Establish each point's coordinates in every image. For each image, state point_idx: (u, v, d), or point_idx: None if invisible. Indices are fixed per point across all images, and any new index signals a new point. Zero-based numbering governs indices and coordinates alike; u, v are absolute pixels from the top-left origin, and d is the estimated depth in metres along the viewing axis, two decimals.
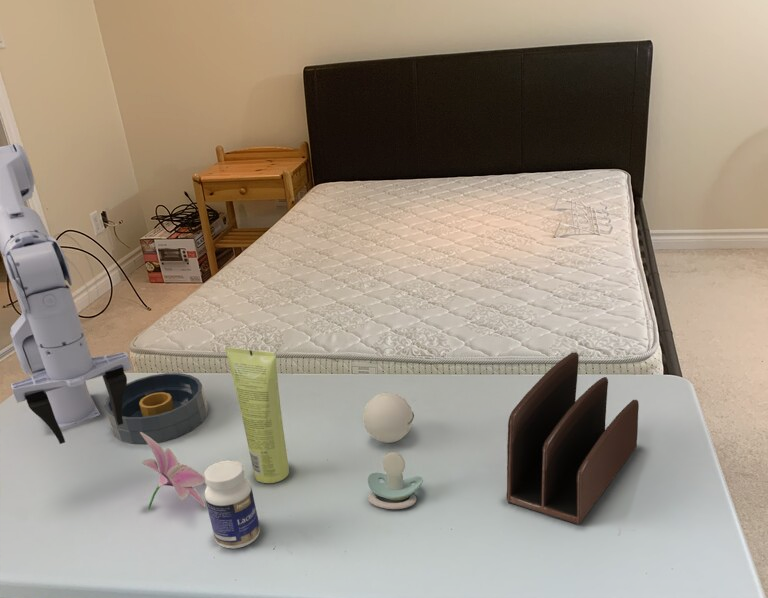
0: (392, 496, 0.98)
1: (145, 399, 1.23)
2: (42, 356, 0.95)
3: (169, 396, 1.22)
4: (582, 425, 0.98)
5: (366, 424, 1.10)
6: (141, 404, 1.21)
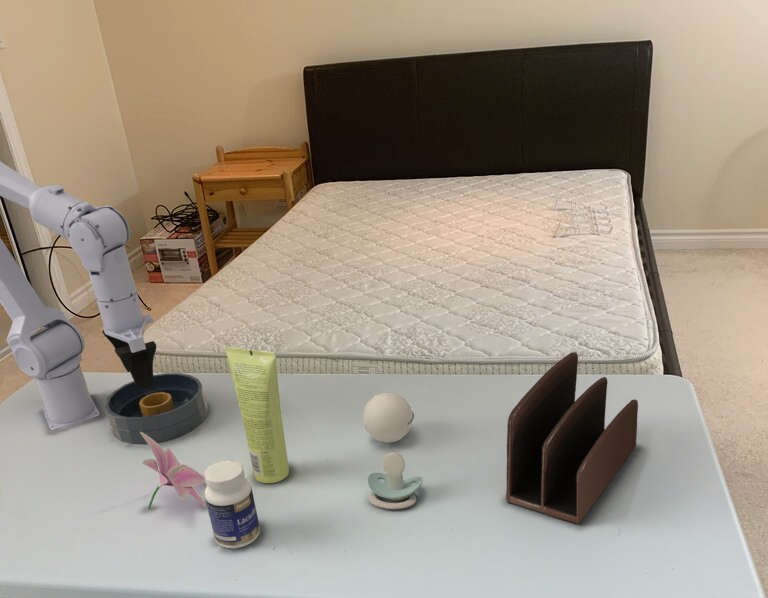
0: (392, 496, 0.98)
1: (145, 399, 1.23)
2: (128, 307, 1.09)
3: (169, 396, 1.22)
4: (581, 425, 0.98)
5: (366, 424, 1.10)
6: (141, 404, 1.21)
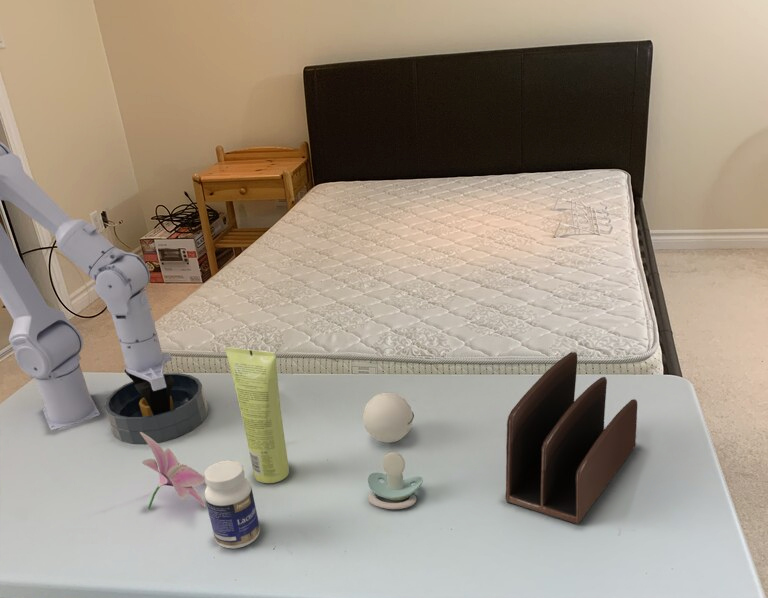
0: (392, 496, 0.98)
1: (145, 399, 1.23)
2: (149, 347, 1.15)
3: None
4: (581, 425, 0.98)
5: (366, 424, 1.10)
6: (141, 404, 1.21)
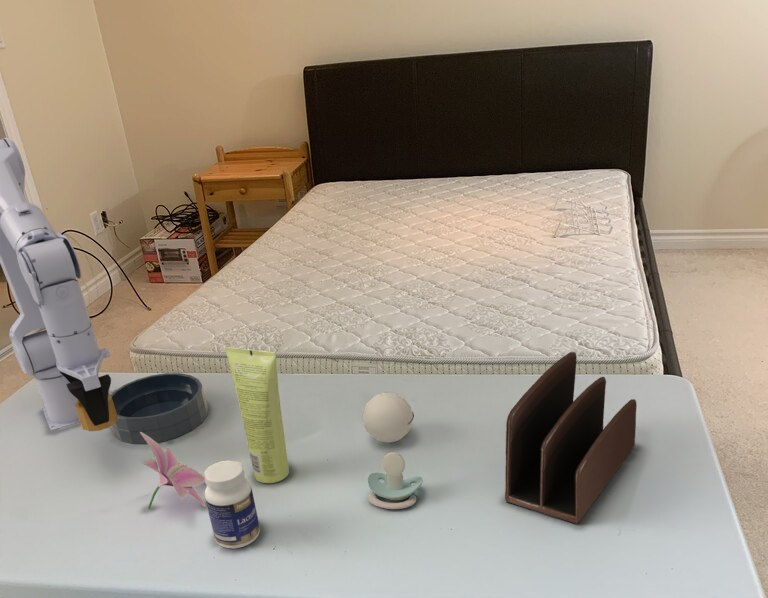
0: (392, 496, 0.98)
1: None
2: (82, 342, 1.02)
3: (109, 397, 1.09)
4: (580, 425, 0.98)
5: (366, 424, 1.10)
6: (77, 406, 1.08)
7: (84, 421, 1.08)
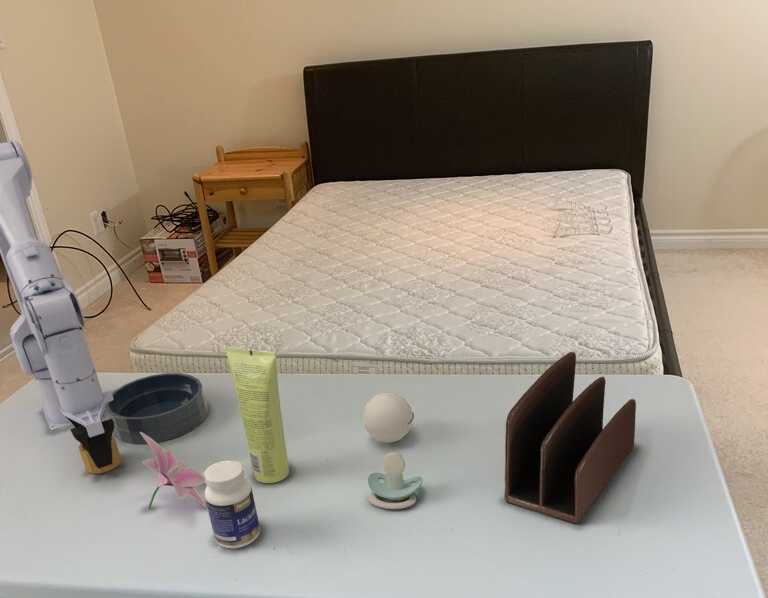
0: (392, 496, 0.98)
1: None
2: (86, 388, 1.04)
3: (112, 439, 1.11)
4: (580, 425, 0.99)
5: (366, 424, 1.10)
6: (80, 448, 1.09)
7: (88, 463, 1.09)
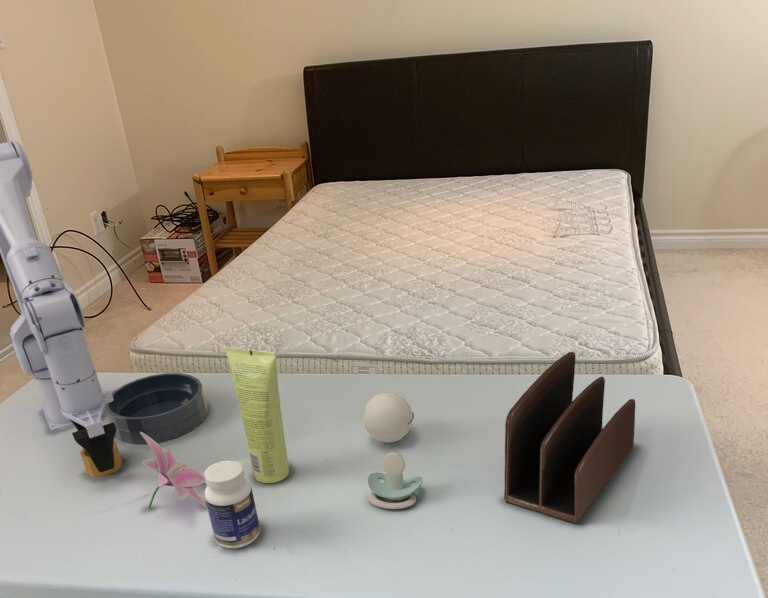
0: (392, 496, 0.98)
1: None
2: (86, 389, 1.04)
3: (114, 445, 1.11)
4: (579, 424, 0.99)
5: (366, 424, 1.10)
6: (82, 454, 1.10)
7: (90, 469, 1.10)
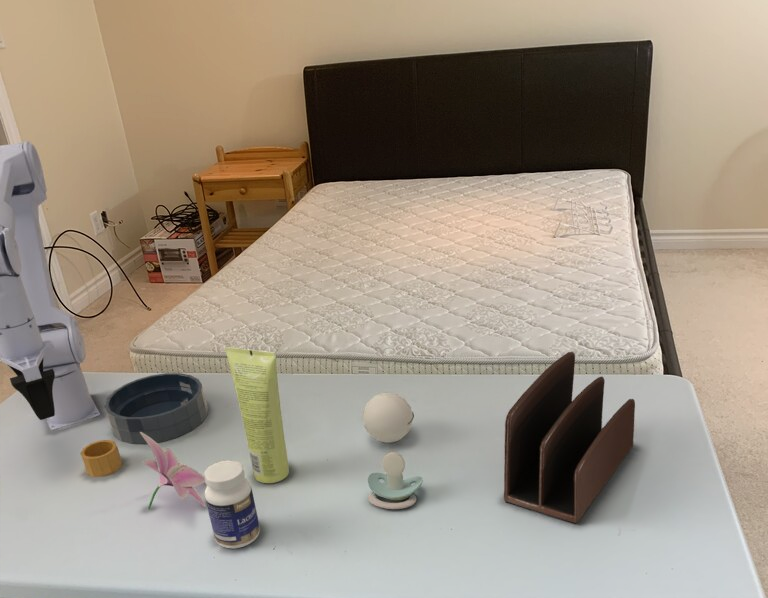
0: (392, 496, 0.98)
1: (88, 448, 1.12)
2: (24, 334, 1.03)
3: (114, 445, 1.11)
4: (579, 424, 0.99)
5: (366, 424, 1.10)
6: (82, 454, 1.10)
7: (90, 469, 1.10)
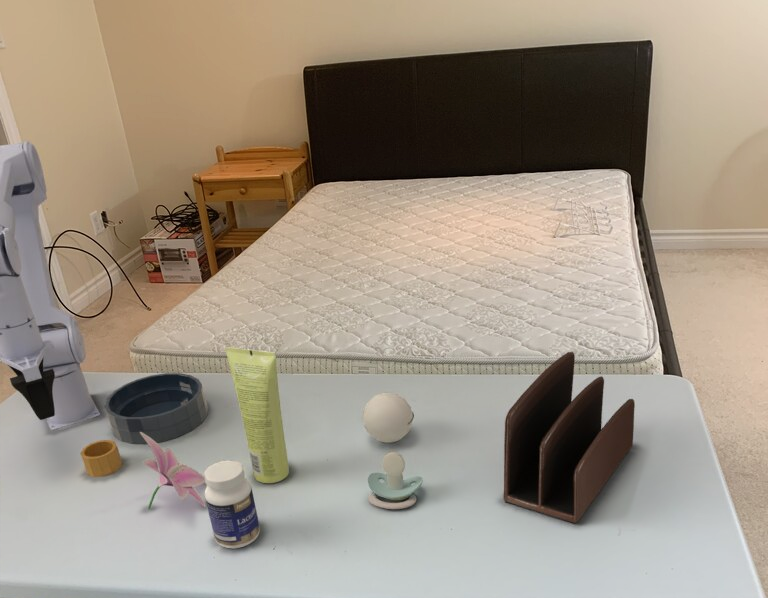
0: (392, 496, 0.98)
1: (88, 448, 1.12)
2: (24, 334, 1.03)
3: (114, 445, 1.11)
4: (578, 424, 0.99)
5: (366, 424, 1.10)
6: (82, 454, 1.10)
7: (90, 469, 1.10)
